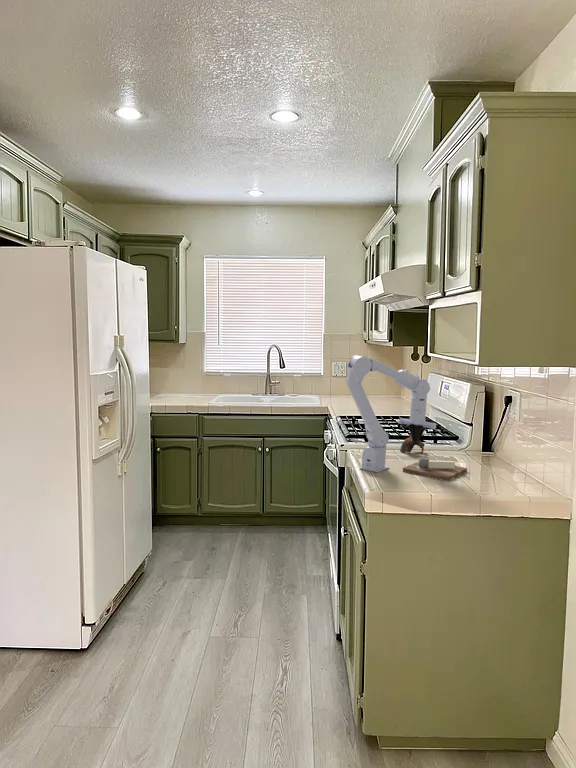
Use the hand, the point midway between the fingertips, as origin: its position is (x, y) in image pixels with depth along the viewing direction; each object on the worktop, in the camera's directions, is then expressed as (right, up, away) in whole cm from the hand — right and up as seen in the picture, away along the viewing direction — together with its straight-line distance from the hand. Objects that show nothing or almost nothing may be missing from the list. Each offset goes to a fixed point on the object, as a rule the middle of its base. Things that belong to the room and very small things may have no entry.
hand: (415, 444), depth 220 cm
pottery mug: (+4, -7, +28) cm, 29 cm away
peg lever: (+7, -8, -5) cm, 12 cm away
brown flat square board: (+7, -10, -3) cm, 12 cm away
